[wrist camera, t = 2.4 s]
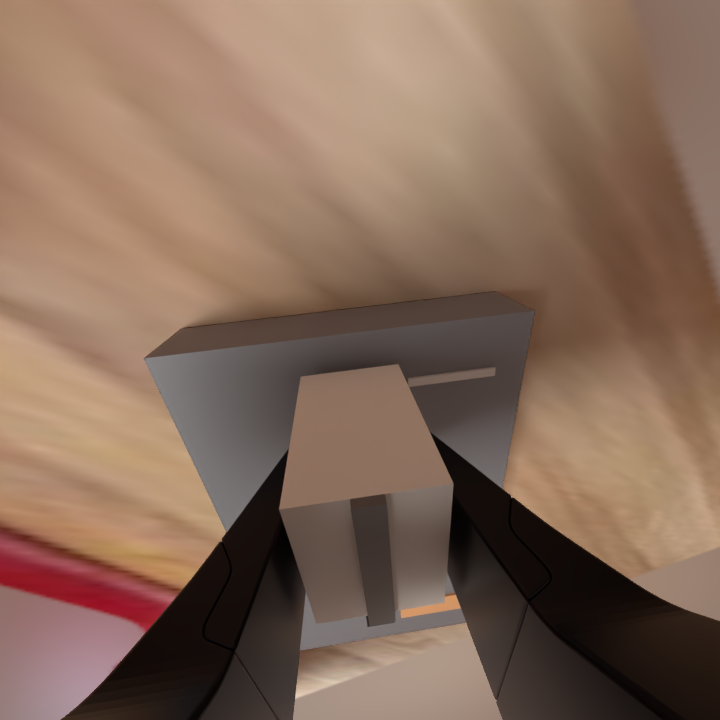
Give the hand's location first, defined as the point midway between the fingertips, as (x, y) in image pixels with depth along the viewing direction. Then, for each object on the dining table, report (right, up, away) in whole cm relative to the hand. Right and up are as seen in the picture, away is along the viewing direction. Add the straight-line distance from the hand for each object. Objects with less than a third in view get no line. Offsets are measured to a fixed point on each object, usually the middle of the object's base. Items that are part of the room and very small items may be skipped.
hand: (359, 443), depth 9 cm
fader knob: (0, +1, +2) cm, 2 cm away
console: (0, -4, +7) cm, 8 cm away
